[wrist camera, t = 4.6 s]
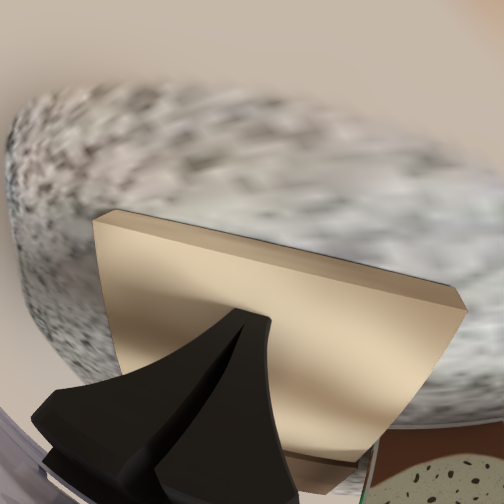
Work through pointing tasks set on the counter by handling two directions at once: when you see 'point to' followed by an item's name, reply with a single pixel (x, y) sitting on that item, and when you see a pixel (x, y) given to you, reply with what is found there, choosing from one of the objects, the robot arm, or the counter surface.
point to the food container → (437, 464)
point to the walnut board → (317, 472)
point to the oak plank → (280, 323)
